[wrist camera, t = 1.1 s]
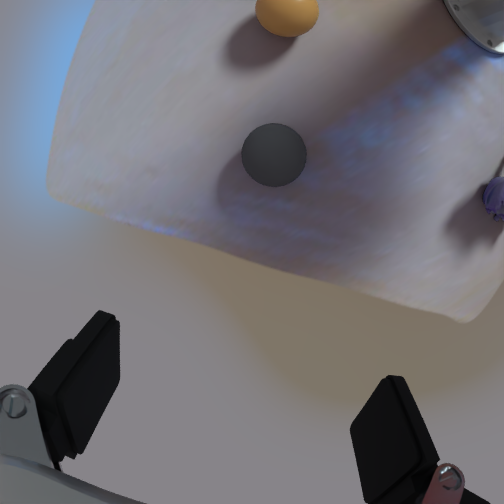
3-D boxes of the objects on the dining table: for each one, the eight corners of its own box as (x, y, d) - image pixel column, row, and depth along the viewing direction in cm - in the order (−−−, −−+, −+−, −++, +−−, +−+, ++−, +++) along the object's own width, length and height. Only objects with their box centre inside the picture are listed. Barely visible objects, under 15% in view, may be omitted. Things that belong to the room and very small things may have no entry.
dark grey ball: (288, 115, 27) (291, 111, 22) (312, 167, 29) (320, 175, 24) (235, 139, 28) (226, 140, 23) (259, 190, 30) (256, 203, 25)
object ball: (298, -9, 22) (303, -34, 17) (324, 33, 24) (334, 14, 18) (247, 8, 23) (241, -15, 18) (272, 52, 25) (271, 34, 20)
